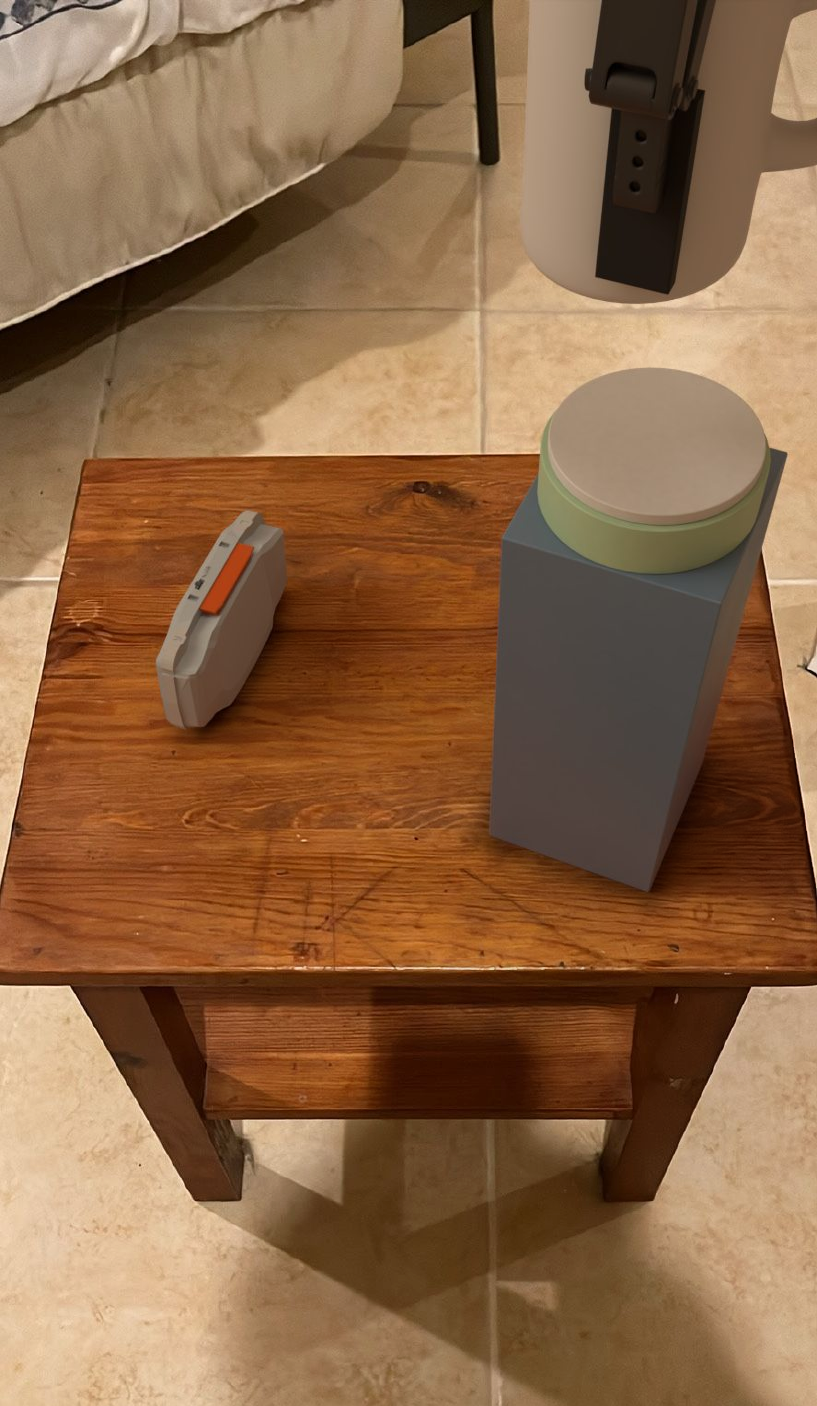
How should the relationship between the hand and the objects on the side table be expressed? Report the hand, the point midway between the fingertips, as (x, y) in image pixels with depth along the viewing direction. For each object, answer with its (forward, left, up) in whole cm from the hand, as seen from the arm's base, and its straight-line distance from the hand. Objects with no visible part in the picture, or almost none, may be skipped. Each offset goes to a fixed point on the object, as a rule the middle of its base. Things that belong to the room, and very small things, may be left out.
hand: (676, 207), depth 48 cm
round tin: (-1, +1, -13) cm, 13 cm away
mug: (0, -1, -2) cm, 2 cm away
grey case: (+24, 0, -37) cm, 44 cm away
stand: (-1, +1, -37) cm, 37 cm away
